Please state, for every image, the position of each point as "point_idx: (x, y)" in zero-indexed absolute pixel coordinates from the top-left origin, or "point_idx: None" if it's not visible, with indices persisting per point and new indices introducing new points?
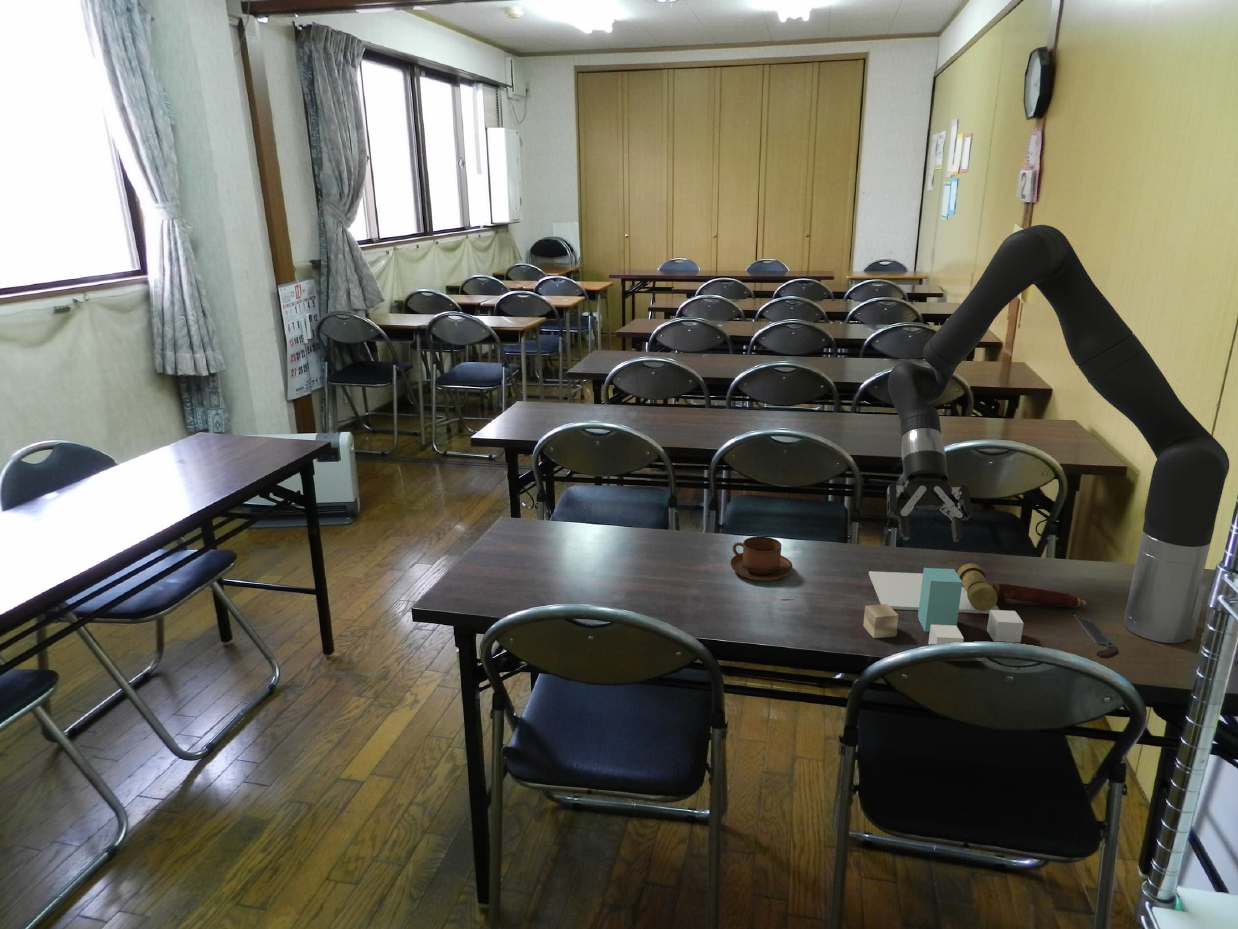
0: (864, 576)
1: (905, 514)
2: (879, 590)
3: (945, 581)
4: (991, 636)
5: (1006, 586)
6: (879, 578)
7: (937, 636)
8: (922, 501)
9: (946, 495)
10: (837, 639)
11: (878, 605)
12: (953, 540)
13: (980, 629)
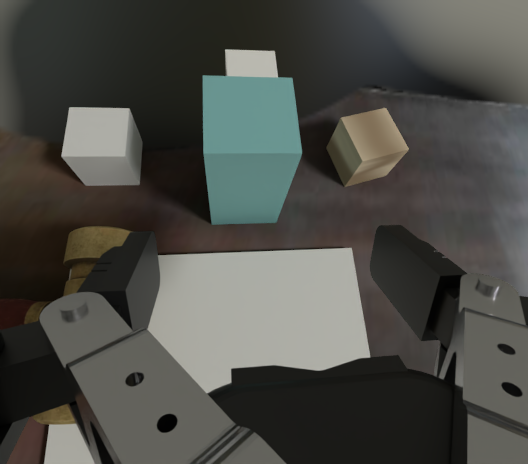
0: None
1: (470, 281)
2: (358, 328)
3: (251, 77)
4: (140, 157)
5: (4, 309)
6: None
7: (274, 53)
8: (406, 385)
9: (124, 453)
10: (425, 129)
11: (381, 152)
12: (158, 281)
13: (152, 187)
